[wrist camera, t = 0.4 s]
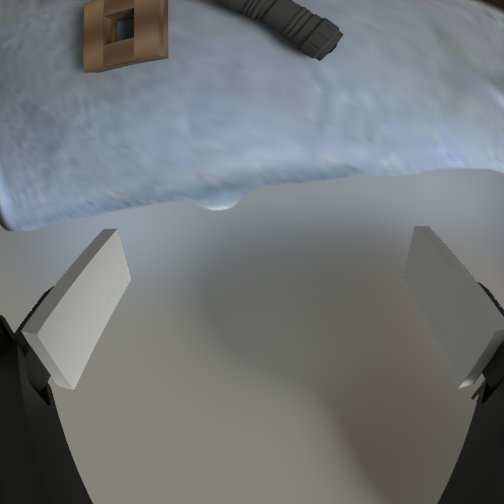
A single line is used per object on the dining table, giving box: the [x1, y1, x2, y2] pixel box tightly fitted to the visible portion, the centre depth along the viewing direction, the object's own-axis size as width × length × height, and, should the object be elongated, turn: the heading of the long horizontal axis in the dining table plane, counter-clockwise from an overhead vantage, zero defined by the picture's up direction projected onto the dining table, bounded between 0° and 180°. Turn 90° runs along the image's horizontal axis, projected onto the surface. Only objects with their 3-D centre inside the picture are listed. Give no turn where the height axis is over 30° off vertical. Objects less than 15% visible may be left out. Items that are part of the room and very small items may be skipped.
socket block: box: [83, 0, 168, 72], centre depth 26 cm, size 10×10×4 cm
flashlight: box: [213, 0, 343, 61], centre depth 25 cm, size 15×5×5 cm, turn 55°
